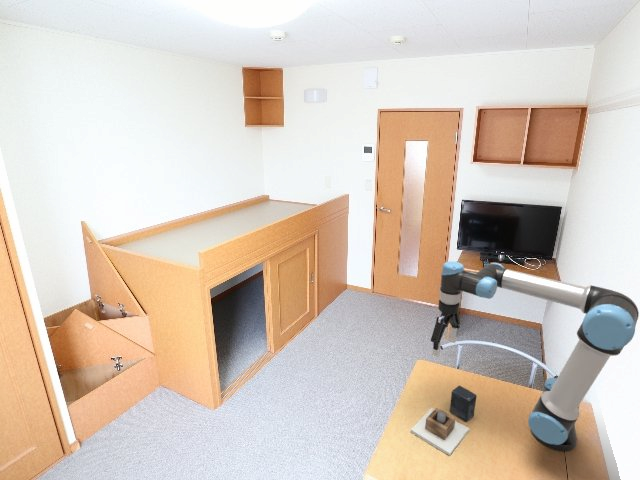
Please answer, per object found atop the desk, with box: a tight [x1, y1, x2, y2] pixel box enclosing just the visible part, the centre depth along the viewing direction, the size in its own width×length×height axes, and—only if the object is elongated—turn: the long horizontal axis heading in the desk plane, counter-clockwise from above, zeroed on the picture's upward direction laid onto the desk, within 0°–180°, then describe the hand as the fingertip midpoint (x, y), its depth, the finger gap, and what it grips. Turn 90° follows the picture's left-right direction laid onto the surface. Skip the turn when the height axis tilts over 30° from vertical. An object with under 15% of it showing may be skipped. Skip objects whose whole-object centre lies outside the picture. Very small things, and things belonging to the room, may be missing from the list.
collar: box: [425, 407, 456, 440], centre depth 148 cm, size 8×8×5 cm
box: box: [449, 385, 478, 423], centre depth 156 cm, size 8×6×11 cm
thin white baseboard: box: [410, 407, 470, 457], centre depth 148 cm, size 16×16×8 cm
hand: (444, 348), depth 156 cm, fingers open, 13 cm apart
